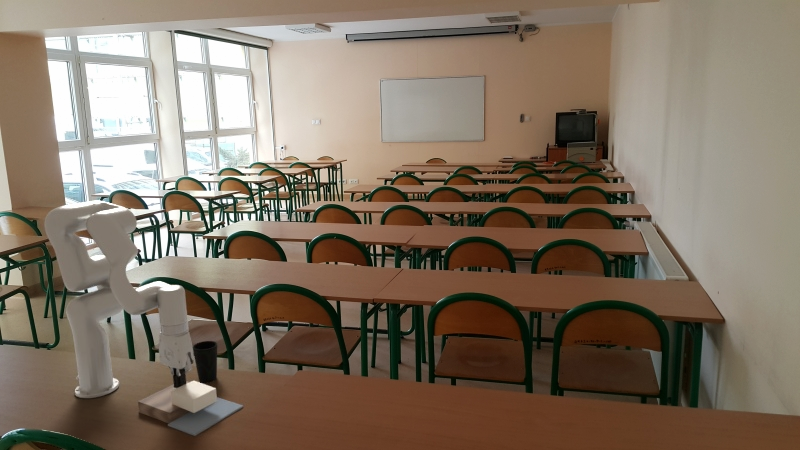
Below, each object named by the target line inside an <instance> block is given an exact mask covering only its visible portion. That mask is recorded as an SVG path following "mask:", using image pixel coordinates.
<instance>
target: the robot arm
mask: <svg viewBox="0 0 800 450" xmlns="http://www.w3.org/2000/svg"><path fill="white" fill-rule="evenodd" d="M137 223H138V222H137V217H136V216H135V214H134V213H133V212H132V210H131V209H129V208H127V207H126V206H125V207H124V206H121V205H118V204H114V203H112V202H111V203H110V202H107V201H102V200H90V201H82V202H77V203H71V204H70V203H69V204H66V205H65V204H64V205H61V206H58V207H55V208H53V209H51V210H50V211H49V212H48V213H47V214H46V216H45V219H44V232H45V233H46V236H47V239H48V240H49V242H50V244H51V246H52V247H53V251H54V253H55V257H56V260H57V265H58V267H59V268H58V269H59V271H60V274H61V278H62V282H63V284H64V286H65V288H66V289H67V290H68V291H70V292H72V293H74V292H80V291H85V290H89V289H92V288H94V287H96V288H97V289H96V290H94V291H91V292H87V293H84V294H81V295H78V296H76V297H74V298H72V299H71V300H70V301H69V302H68V304H67V306H66V308H65V313H66V318H67V320H68V323H69V326H70V329H71V334H72V339H73V344H74V345H73V346H74V352H75V360H76V367H77V374H78V375H76V377H75V379H76V380H78V382H79V383H78V386H76V388H75V389H74V395H75V396H76V397H78V398H80V399H93V398H100V397H103V396H105V395H106V396H107V395H109V394H111V393H112V392H114V391H115V390H117V389H118V388H119V387H120V381H119V380H118V379H117V378H114V375H113V367H112V359H111V349H110V342H109V334H108V333H107V331H106V329H105V328H104V327H103V326H102V325H101V321H104V320H106V319H108V318H111V317H113V316H116V315H118V314H119V313H122V311H123V310H124V312H126V313H128V314H129V315H132V316H139V315H143V314H145V313H147V312H150V311H152V310H156V309H158V318H159V325H160V326H159V327H160V332H159V335H158V338H159V339H158V356H159V362H160V364H161V365H164V366H166V367H168V368H169V370H170V373H171V375H172V381H173V384H174V388H178V387H181V386H183V385H185V384H186V381H187V376H186V374H187V373H188V372H190V371H192V370H193V367H192V365H193V364H194V363H195V362H194V361H195V357H194V352H193V343H192V338H191V334H190V332H189V329H190V328H189V320H188V310H187V301H186V300H187V299H186V291H185V288H184V287H183V286H182V285H179V284H169V283H167V282H164V281H161V280H158V281H157V280H156V281H153V282H150V283H146V284H144V285H141V286H137V287H133V285H132V283H131V282H130V281H129V279H128V276H127V266H128V265H129V264H130V263H131V262H132V261H133V260H134V259H135V258H136V257H137V255H138V253H139V249H138V247H137V246H136V245H135V243H134V241H133V240H132V239H131V237H130V236H129V235H130V234H131V233H133V232H134V231H135V230H136V228H137V225H138V224H137ZM81 231H87V232H88V234H89V235H90V237H91V238H92V240H93V241H94V242H95V244H96V246H97V248H99V250H100V252H101V253H102V254H95V255H92V256H90V255H89V252H88V248H87V245H86V243H85V241H84V240H83V239H82V238H81V237H80V236H79V235H77V234H76V233H77V232H81Z"/></svg>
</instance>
